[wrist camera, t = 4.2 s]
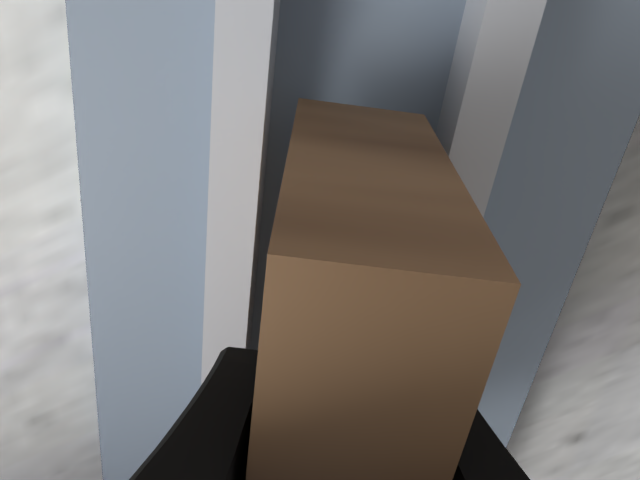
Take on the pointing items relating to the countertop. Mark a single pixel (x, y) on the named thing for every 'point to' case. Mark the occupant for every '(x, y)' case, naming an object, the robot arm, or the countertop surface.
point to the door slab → (373, 304)
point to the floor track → (271, 152)
